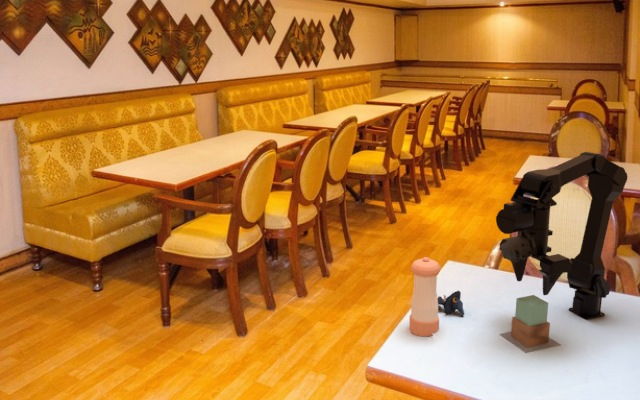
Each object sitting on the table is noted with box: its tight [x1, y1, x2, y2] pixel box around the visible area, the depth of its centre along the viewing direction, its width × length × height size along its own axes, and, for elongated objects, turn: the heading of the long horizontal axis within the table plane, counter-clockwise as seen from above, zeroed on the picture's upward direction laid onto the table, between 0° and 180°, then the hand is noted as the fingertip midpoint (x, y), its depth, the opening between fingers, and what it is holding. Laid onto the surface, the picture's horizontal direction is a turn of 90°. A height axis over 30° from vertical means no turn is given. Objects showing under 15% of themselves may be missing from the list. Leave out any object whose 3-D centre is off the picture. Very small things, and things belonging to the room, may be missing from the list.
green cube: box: [514, 294, 549, 326], centre depth 143 cm, size 5×5×5 cm
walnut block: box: [510, 316, 551, 347], centre depth 144 cm, size 6×6×5 cm
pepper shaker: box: [408, 256, 441, 337], centre depth 149 cm, size 7×7×19 cm
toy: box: [437, 290, 465, 318], centre depth 163 cm, size 8×7×15 cm
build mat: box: [498, 331, 562, 354], centre depth 145 cm, size 10×10×1 cm
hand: (532, 287), depth 146 cm, fingers open, 9 cm apart
